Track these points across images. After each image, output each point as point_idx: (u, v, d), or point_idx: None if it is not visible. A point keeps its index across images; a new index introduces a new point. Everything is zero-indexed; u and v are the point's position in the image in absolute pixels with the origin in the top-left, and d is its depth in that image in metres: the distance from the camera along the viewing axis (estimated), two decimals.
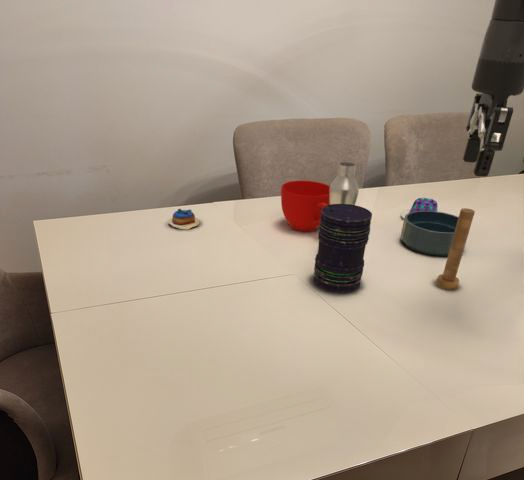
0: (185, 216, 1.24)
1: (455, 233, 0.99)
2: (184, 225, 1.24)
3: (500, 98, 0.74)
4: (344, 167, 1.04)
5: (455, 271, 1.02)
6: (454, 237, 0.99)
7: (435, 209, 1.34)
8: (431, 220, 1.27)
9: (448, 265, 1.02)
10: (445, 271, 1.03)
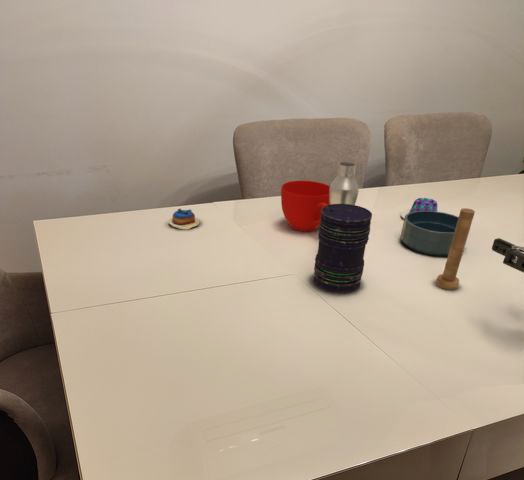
0: (185, 216, 1.24)
1: (455, 233, 0.99)
2: (184, 225, 1.24)
3: None
4: (344, 167, 1.04)
5: (455, 271, 1.02)
6: (454, 237, 0.99)
7: (435, 209, 1.34)
8: (431, 220, 1.27)
9: (448, 265, 1.02)
10: (445, 271, 1.03)
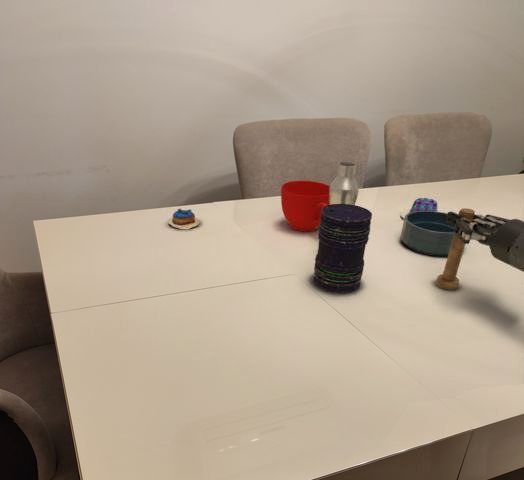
0: (185, 216, 1.24)
1: None
2: (184, 225, 1.24)
3: None
4: (344, 167, 1.04)
5: (455, 271, 1.02)
6: (454, 237, 0.99)
7: (435, 209, 1.34)
8: (431, 220, 1.27)
9: (448, 265, 1.02)
10: (445, 271, 1.03)
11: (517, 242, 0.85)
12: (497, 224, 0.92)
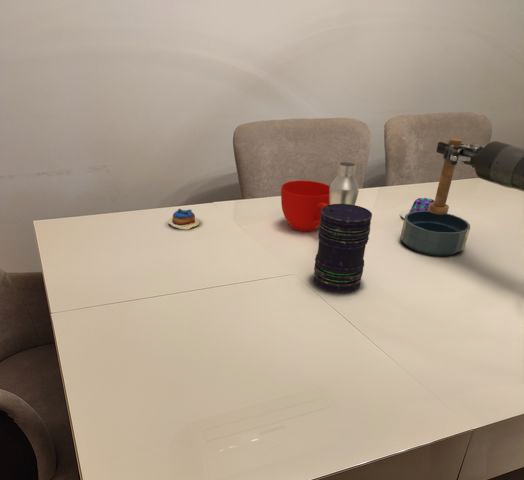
0: (185, 216, 1.24)
1: (445, 161, 1.12)
2: (184, 225, 1.24)
3: None
4: (344, 167, 1.04)
5: (445, 197, 1.15)
6: (444, 165, 1.12)
7: None
8: (431, 220, 1.27)
9: (438, 191, 1.15)
10: (437, 197, 1.16)
11: (497, 158, 0.98)
12: (481, 149, 1.05)
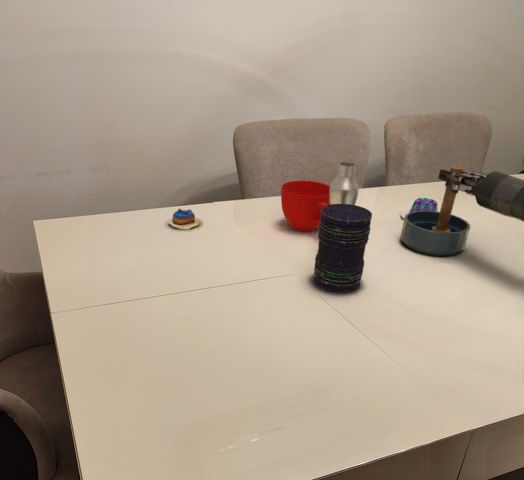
0: (185, 216, 1.24)
1: (446, 188, 1.16)
2: (184, 225, 1.24)
3: None
4: (344, 167, 1.04)
5: (447, 221, 1.19)
6: (446, 191, 1.16)
7: (435, 209, 1.34)
8: (431, 220, 1.27)
9: (440, 216, 1.19)
10: (439, 221, 1.20)
11: (497, 189, 1.02)
12: (481, 177, 1.09)
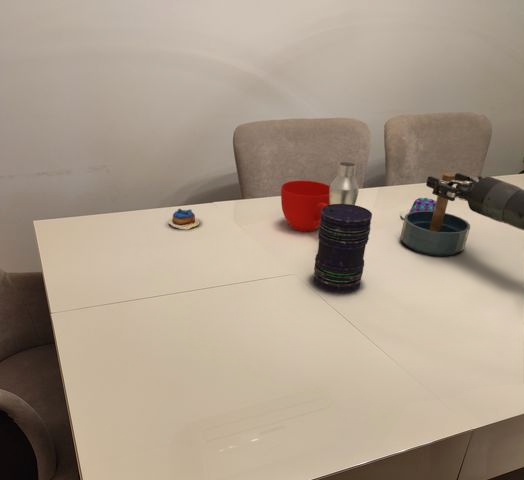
0: (185, 216, 1.24)
1: None
2: (184, 225, 1.24)
3: None
4: (344, 167, 1.04)
5: (439, 228, 1.20)
6: (437, 198, 1.16)
7: None
8: (431, 220, 1.27)
9: (432, 223, 1.19)
10: (431, 228, 1.20)
11: (489, 194, 1.02)
12: (474, 182, 1.09)
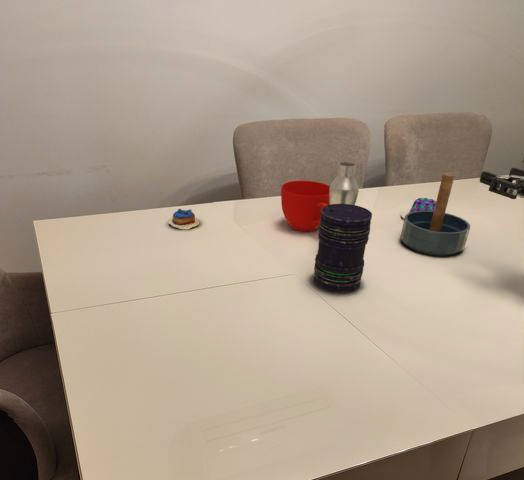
0: (185, 216, 1.24)
1: (438, 194, 1.16)
2: (184, 225, 1.24)
3: None
4: (344, 167, 1.04)
5: (439, 228, 1.20)
6: (437, 198, 1.16)
7: None
8: (431, 220, 1.27)
9: (432, 223, 1.19)
10: (431, 228, 1.20)
11: None
12: None
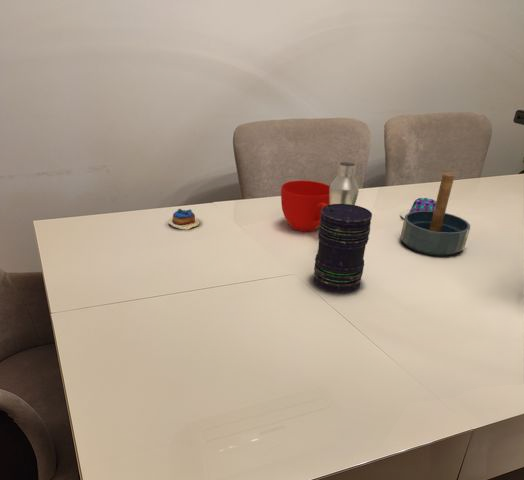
0: (185, 216, 1.24)
1: (438, 194, 1.16)
2: (184, 225, 1.24)
3: None
4: (344, 167, 1.04)
5: (439, 228, 1.20)
6: (437, 198, 1.16)
7: None
8: (431, 220, 1.27)
9: (432, 223, 1.19)
10: (431, 228, 1.20)
11: None
12: None
